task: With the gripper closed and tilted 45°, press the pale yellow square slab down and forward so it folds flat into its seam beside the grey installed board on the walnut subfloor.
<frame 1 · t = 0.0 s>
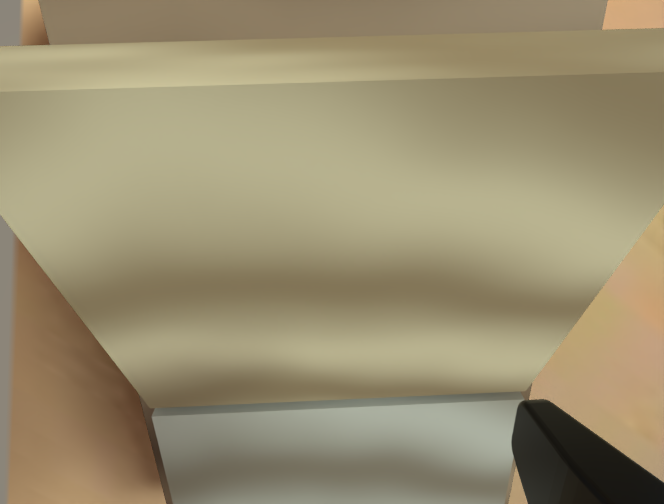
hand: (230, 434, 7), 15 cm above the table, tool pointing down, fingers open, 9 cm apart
pale yellow square slab: (339, 280, 13), point 9 cm above the table, hinge at 25.0°
floor base: (331, 259, 23), on the table
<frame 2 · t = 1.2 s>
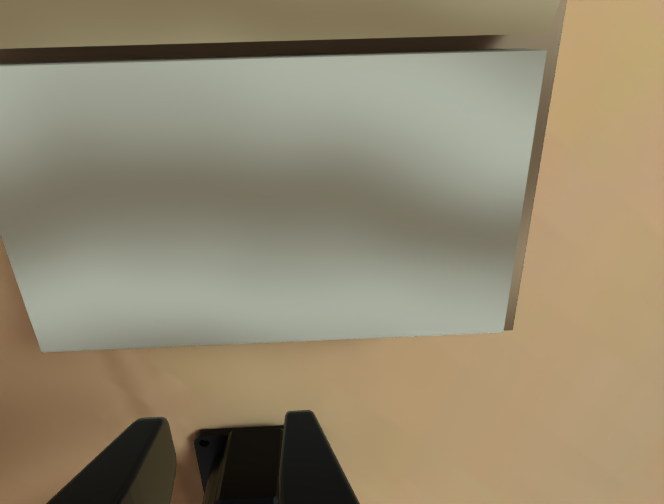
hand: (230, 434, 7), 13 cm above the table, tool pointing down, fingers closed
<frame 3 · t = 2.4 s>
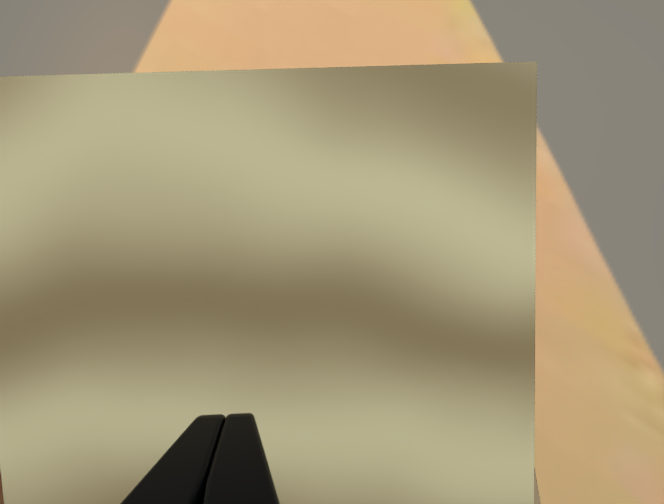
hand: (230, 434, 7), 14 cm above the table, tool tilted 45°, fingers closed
pale yellow square slab: (267, 324, 13), point 9 cm above the table, hinge at 25.0°
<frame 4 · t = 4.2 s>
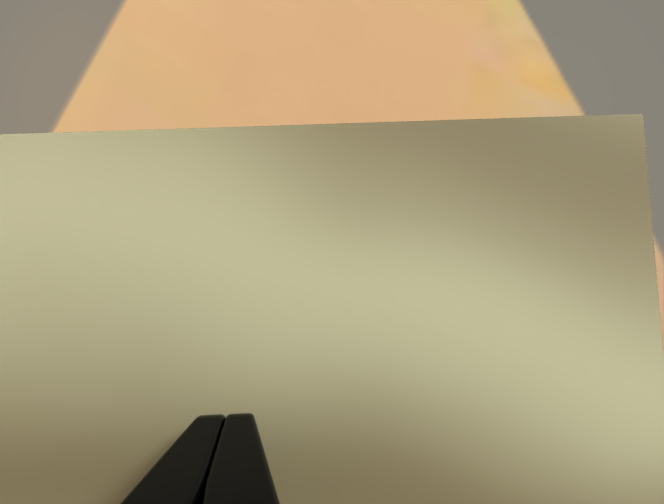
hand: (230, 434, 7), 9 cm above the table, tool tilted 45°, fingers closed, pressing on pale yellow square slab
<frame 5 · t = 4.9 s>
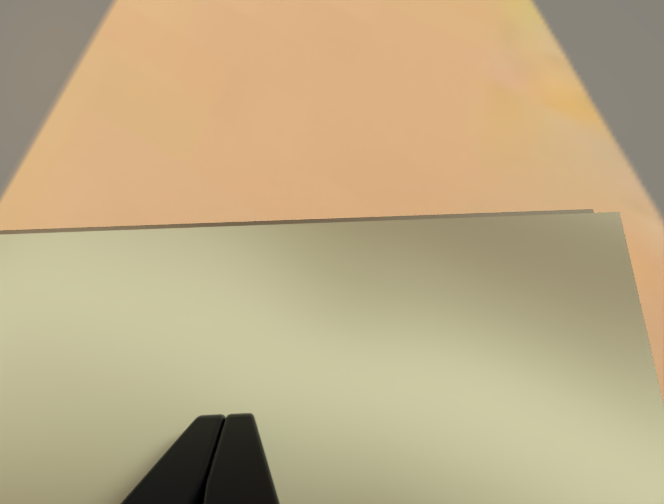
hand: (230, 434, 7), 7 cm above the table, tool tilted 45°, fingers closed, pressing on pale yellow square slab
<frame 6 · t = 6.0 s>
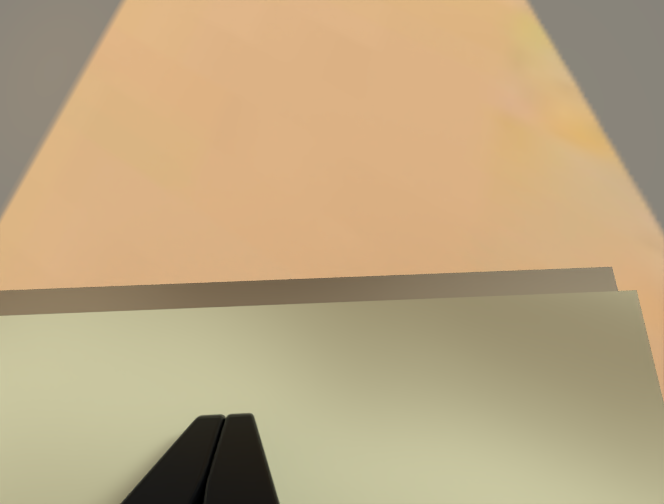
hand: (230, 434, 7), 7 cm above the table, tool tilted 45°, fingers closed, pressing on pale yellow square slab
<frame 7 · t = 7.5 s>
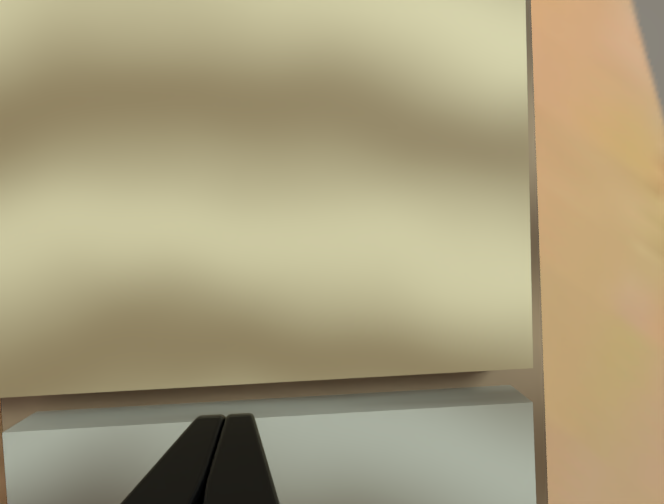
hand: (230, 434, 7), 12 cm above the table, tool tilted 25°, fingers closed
pale yellow square slab: (256, 136, 13), point 6 cm above the table, hinge at 1.9°
floor base: (283, 280, 19), on the table
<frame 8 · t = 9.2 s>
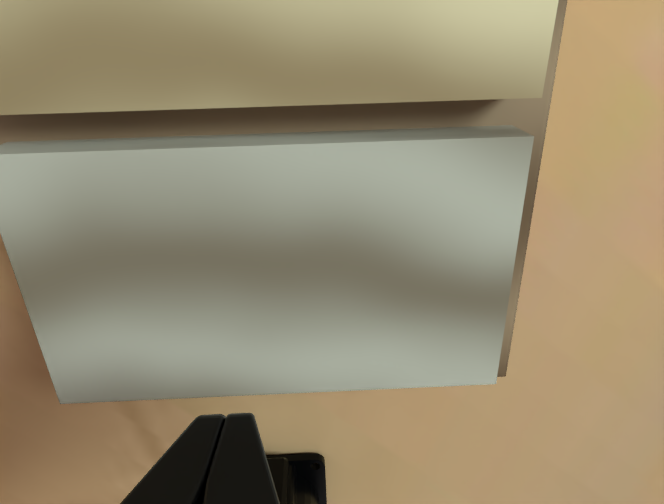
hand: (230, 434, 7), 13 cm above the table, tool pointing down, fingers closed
floor base: (268, 16, 17), on the table
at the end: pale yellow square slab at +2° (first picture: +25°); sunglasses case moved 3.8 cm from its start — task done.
